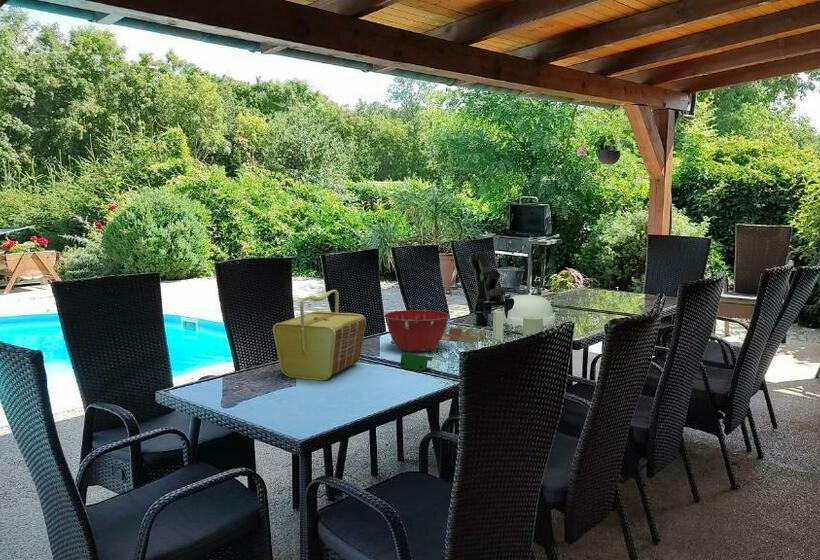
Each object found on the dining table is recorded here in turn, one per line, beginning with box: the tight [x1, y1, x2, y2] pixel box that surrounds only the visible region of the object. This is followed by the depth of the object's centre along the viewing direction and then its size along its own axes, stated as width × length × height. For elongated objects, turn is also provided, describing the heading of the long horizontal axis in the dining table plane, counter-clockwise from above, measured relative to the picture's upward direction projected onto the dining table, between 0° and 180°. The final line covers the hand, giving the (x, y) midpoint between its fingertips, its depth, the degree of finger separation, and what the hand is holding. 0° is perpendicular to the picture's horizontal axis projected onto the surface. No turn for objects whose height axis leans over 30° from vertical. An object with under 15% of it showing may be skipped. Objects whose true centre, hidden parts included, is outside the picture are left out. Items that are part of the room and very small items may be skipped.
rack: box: [440, 325, 485, 343], centre depth 296 cm, size 13×20×6 cm, turn 67°
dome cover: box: [502, 294, 556, 327], centre depth 340 cm, size 32×30×14 cm
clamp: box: [399, 352, 433, 372], centre depth 243 cm, size 12×6×9 cm, turn 48°
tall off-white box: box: [492, 310, 504, 341], centre depth 295 cm, size 5×4×13 cm
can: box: [522, 316, 544, 337], centre depth 287 cm, size 9×9×12 cm
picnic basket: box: [272, 289, 367, 381], centre depth 238 cm, size 29×26×30 cm
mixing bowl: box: [383, 309, 450, 353], centre depth 275 cm, size 28×28×16 cm
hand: (497, 318), depth 297 cm, fingers open, 9 cm apart
